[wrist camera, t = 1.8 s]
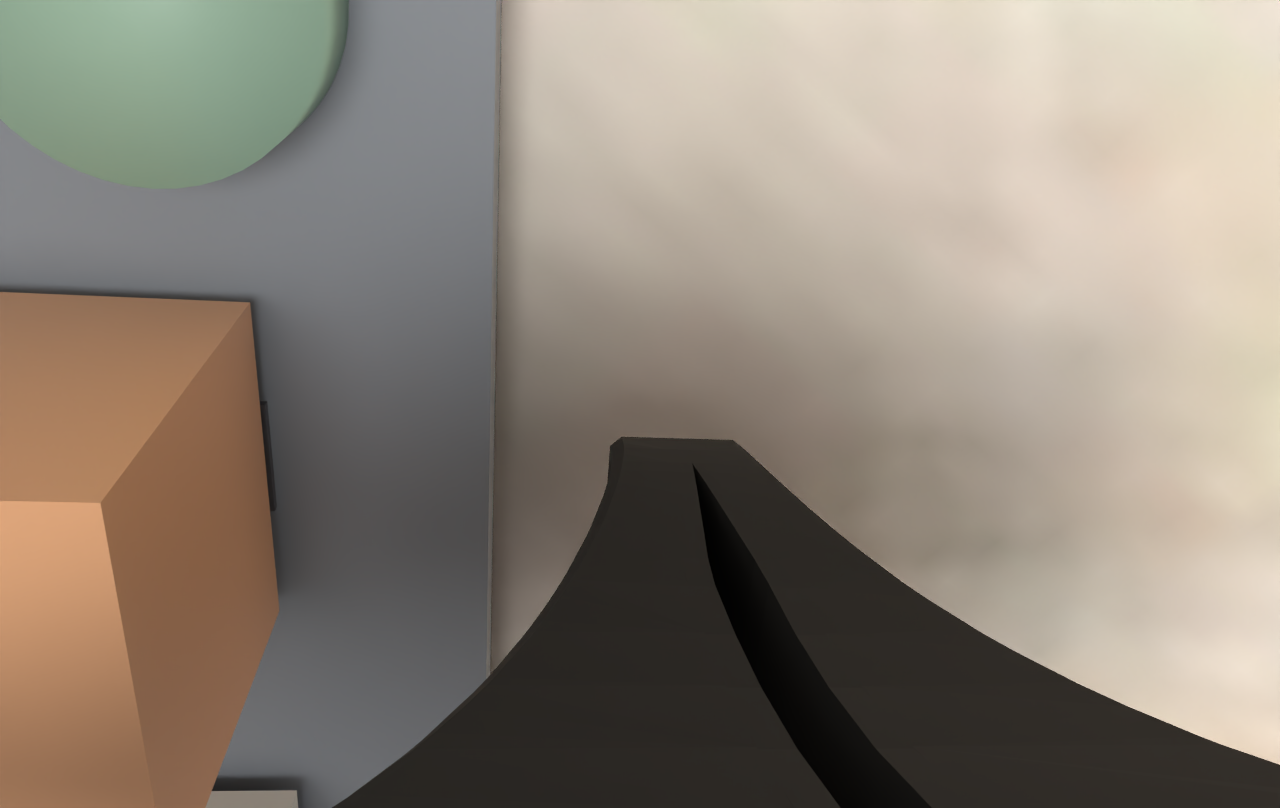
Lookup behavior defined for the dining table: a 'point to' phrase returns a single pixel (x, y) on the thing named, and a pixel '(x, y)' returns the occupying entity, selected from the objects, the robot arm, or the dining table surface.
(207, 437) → the terracotta slider
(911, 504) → the dining table surface
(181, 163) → the control board
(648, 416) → the dining table surface
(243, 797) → the ivory slider
